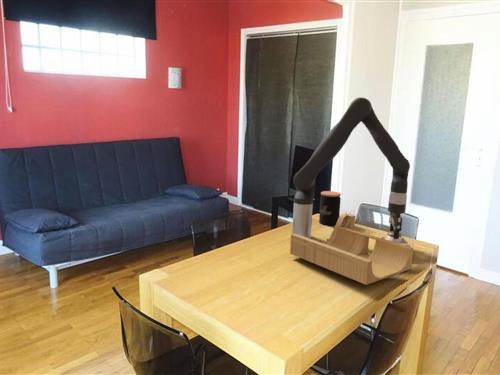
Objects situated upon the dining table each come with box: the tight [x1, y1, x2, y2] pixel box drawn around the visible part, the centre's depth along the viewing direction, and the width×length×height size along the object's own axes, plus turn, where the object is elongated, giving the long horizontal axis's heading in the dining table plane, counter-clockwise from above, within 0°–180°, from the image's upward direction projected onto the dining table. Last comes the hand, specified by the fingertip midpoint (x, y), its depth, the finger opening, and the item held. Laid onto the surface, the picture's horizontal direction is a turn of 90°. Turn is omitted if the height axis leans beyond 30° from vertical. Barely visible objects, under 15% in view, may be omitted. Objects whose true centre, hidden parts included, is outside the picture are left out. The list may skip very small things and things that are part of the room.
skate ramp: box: [289, 210, 415, 286], centre depth 180 cm, size 40×35×16 cm
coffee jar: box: [318, 190, 342, 227], centre depth 235 cm, size 11×11×18 cm
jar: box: [386, 230, 403, 243], centre depth 199 cm, size 6×6×7 cm
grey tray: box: [380, 236, 415, 262], centre depth 193 cm, size 10×19×4 cm, turn 174°
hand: (393, 236), depth 199 cm, fingers open, 8 cm apart
